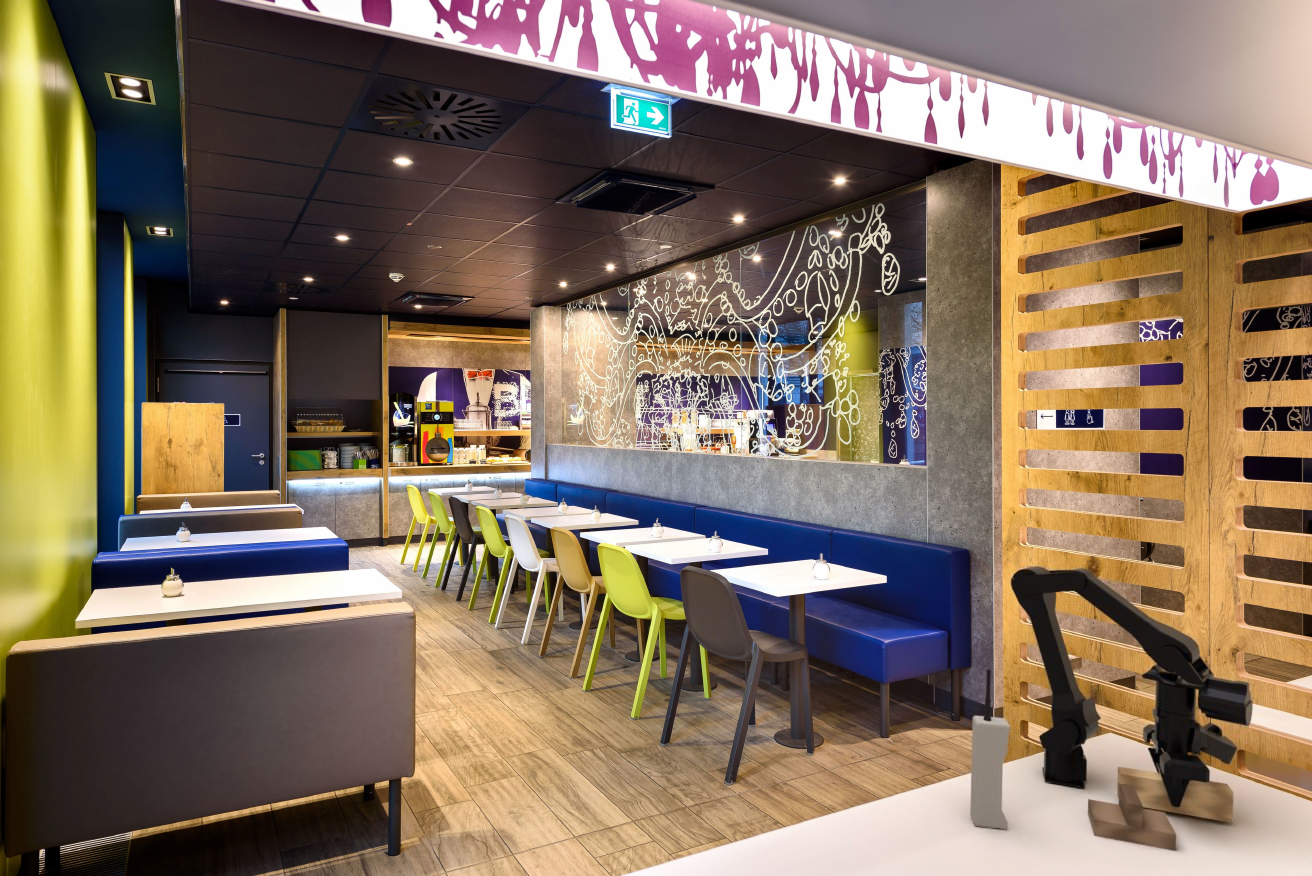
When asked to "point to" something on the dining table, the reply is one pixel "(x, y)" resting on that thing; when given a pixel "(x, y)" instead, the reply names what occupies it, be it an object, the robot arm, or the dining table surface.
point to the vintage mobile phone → (988, 766)
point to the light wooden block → (1197, 799)
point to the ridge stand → (1131, 821)
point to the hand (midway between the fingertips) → (1172, 801)
